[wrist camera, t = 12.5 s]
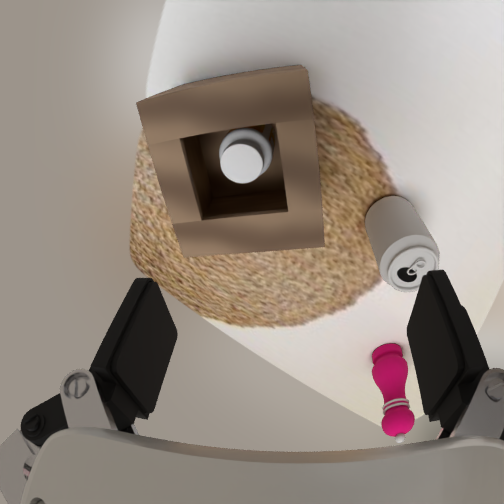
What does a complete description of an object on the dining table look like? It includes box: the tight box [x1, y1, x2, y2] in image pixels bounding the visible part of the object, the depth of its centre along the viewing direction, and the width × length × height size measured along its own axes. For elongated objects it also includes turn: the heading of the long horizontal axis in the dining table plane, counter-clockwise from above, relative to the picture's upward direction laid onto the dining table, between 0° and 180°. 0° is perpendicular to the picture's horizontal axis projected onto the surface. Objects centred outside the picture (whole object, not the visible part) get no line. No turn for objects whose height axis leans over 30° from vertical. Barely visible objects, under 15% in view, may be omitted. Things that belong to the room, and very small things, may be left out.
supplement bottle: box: [219, 124, 275, 183], centre depth 32 cm, size 5×5×10 cm
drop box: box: [136, 65, 325, 258], centre depth 32 cm, size 16×14×13 cm
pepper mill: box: [372, 344, 414, 443], centre depth 50 cm, size 7×7×20 cm
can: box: [365, 196, 440, 292], centre depth 36 cm, size 8×8×12 cm
